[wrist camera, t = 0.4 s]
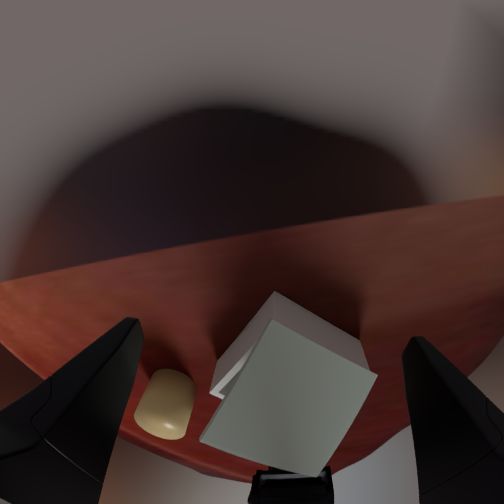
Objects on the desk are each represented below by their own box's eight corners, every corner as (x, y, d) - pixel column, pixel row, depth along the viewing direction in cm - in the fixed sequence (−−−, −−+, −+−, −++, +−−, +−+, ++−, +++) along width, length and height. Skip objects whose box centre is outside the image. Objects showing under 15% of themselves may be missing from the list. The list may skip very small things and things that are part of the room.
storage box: (296, 398, 30) (297, 429, 25) (217, 360, 28) (209, 392, 24) (359, 340, 26) (370, 372, 22) (274, 290, 25) (273, 321, 21)
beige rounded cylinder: (185, 406, 32) (173, 444, 26) (145, 385, 31) (128, 422, 26) (205, 384, 30) (193, 426, 24) (161, 361, 29) (142, 401, 24)
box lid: (313, 474, 19) (316, 477, 19) (199, 438, 18) (200, 441, 17) (373, 373, 22) (377, 375, 21) (269, 318, 21) (271, 319, 20)
